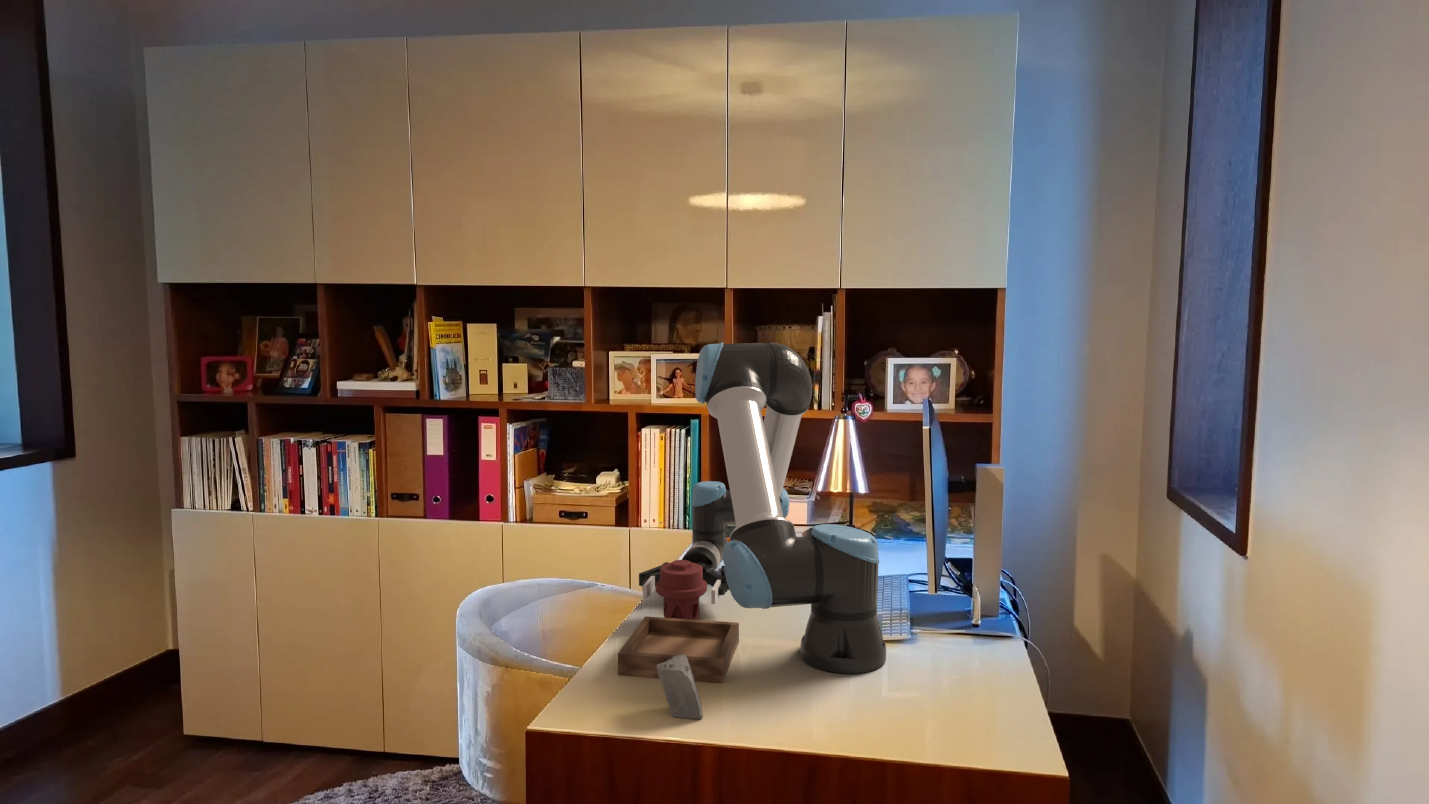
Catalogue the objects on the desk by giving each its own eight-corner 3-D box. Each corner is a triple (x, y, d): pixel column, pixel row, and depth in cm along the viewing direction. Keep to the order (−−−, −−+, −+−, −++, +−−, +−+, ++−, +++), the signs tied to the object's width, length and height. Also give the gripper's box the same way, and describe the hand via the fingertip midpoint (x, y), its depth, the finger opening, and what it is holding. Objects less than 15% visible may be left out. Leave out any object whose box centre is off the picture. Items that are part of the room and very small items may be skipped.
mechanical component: (711, 616, 176) (700, 634, 166) (663, 612, 178) (650, 630, 168) (711, 556, 174) (700, 571, 165) (663, 553, 176) (649, 568, 167)
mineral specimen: (696, 689, 141) (700, 647, 139) (707, 725, 133) (711, 680, 131) (651, 692, 139) (654, 649, 137) (659, 729, 131) (662, 683, 129)
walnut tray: (738, 641, 163) (739, 622, 162) (722, 683, 145) (722, 661, 145) (645, 635, 166) (645, 616, 165) (617, 674, 148) (617, 653, 148)
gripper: (757, 583, 188) (742, 617, 168) (644, 576, 193) (617, 609, 172) (757, 549, 188) (742, 579, 167) (644, 543, 192) (616, 572, 171)
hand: (678, 595), depth 169 cm, fingers open, 13 cm apart
